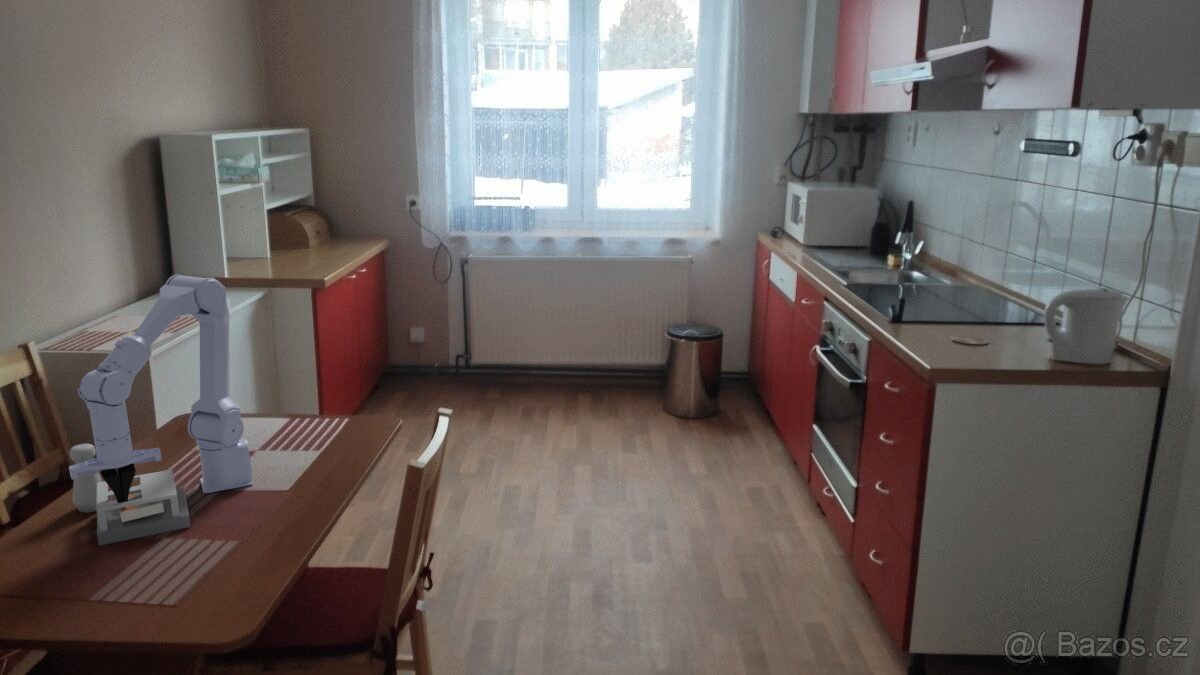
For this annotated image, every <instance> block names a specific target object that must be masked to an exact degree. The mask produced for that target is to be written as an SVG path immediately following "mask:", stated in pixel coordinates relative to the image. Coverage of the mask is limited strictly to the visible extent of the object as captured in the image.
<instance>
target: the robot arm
mask: <svg viewBox="0 0 1200 675" xmlns="http://www.w3.org/2000/svg"><path fill="white" fill-rule="evenodd" d="M185 315H191V316H192V317H193V318H194V319H196V320H197V321H198V322H199V399H198V400H197V401H195V402H194V403H193V404H192V405H191V409H190V410H191V411H190V412H191V413H190V417H189V419H188V421H187V432H188V434H189V436H190V437H191V438H192V439H194V440H195V444H196V445H198V450H199V457H200V466H201V467H200V468H201V473H202V474H201V475H202V477H201V478H199V482H200V484H201V488H202V493H203V494H205V495H206V494H211V493H217V492H220V491H225V490H226V491H228V490H231V489H237V488H242V487H247V486H253V484H254V482H253V474H252V473H253V468H252V464H251V456H250V449H249V444H248V441H247V439H246V438H242V436H243V435H244V434H243V433H244V430H245V429H244V428H245V427H244V421H243V419H242V416H241V407H240V406H238V404H237V403H236V402H235V401H234V400H233V399H232V398H231V397H230V310H229V307H228V304H227V288H226V286H225V285H224V284H222V283H221V282H220V281H219V280H218V279H216V278H214V277H200V276H199V277H198V276H190V275H184V274H173V275H171V276H170V277H168V279H167V280H166V281H165V284H164V285H162V286H161V287H160V288H159V297H158V300H157V301H156V302H155V304H154V305H153V307H151V309H150V311H149V312H148V313H147V315H146V316H145V317H144V319H143V321H142V322H141V323H140V325H139V327H138V328H137V329H136V331H135V332H134V333H133V334H132V335H129V336H123V337H122V338H121V339H118V340H116V342H115V343H114V347H113V348H112V350H111V351H110V352H109V354H108V355H107V356H106V357H105V358H104V360H103V361H101V362H100V363H99V364H98V366H97V369H93V370H92V371H89V372H87V373H86V374H85V375H84V376H83V377H82V379H81V381H80V383H79V388H77V393H78V396H79V397H80V398H81V400H83V401H85V404H86V410H88V411H89V417H90V423H91V428H92V429H91V430H92V436H93V441H94V448H95V451H96V454H95V456H96V458H93V459H92V460H89V461H86V462H83V463H80V464H76V465H75V464H73V465H68V470H69V474H70V475H69V476H70V478H71V480H72V481H74V479H78V478H79V477H81V476H85V475H90V474H94V473H99V474H100V476H101V477H102V479H103V481H105V482H106V483H107V484H108V488H110V489H111V491H113V493H114V494H115V497H114V498H115V500H117V503H122V502H127V501H128V496H129V490H130V487H132V483H133V482H134V481H133V478H134V476H136V473H137V470H136V467H135V465H141V464H145V463H149V462H159V461H162V452H161V448H159V447H152V448H147V449H146V448H145V449H136V450H133V444H132V438H131V431H130V425H129V418H128V411H127V404H126V400H127V399H128V398H130V396H131V392H132V386H133V385H132V384H133V383H134V379H135V377H136V375H138V373H140V371H141V369H142V368H143V367H144V366H145V365H146V363H147V362H148V360H150V358H151V356H152V349H151V348H152V347H151V346H152V345H153V344H154V343H155V342H156V341H157V340H158V338H160V336H161V335H163V333H164V332H165V331H166V330H167V329H168V328H169V327H170V325H171V324H172V323H173V322H174V321H175V320H176V319H177V317H180V316H185Z"/></svg>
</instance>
